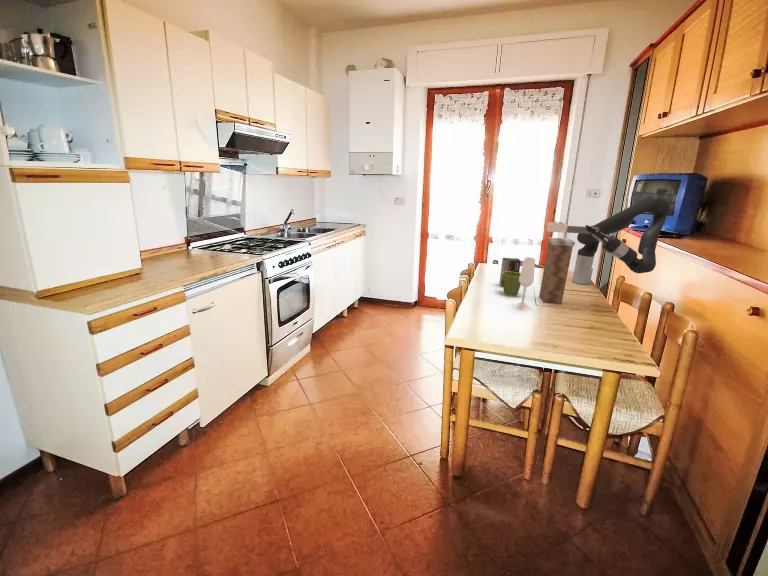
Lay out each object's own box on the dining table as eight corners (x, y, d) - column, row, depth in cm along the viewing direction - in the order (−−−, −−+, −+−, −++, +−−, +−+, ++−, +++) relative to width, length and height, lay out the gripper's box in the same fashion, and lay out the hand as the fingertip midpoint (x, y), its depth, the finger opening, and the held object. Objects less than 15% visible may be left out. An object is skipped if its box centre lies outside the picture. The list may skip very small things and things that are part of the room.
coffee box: (514, 285, 223) (518, 258, 218) (517, 288, 217) (521, 260, 212) (498, 284, 224) (502, 257, 219) (500, 287, 218) (504, 259, 213)
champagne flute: (512, 305, 188) (519, 258, 180) (518, 302, 192) (525, 256, 185) (525, 309, 183) (533, 260, 176) (531, 306, 188) (539, 258, 181)
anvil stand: (557, 298, 202) (568, 238, 193) (562, 304, 193) (575, 242, 183) (537, 296, 204) (548, 237, 194) (542, 302, 194) (553, 240, 185)
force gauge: (595, 233, 188) (597, 223, 186) (599, 234, 183) (601, 225, 182) (546, 230, 191) (548, 220, 190) (548, 231, 186) (550, 222, 185)
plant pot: (525, 294, 207) (528, 274, 203) (515, 298, 198) (519, 278, 195) (505, 289, 214) (508, 269, 211) (495, 293, 206) (497, 273, 203)
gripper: (615, 238, 191) (586, 219, 191) (627, 243, 178) (597, 222, 177) (604, 250, 193) (576, 231, 193) (615, 256, 180) (585, 235, 180)
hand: (586, 227), depth 185 cm, fingers closed on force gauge, 3 cm apart
